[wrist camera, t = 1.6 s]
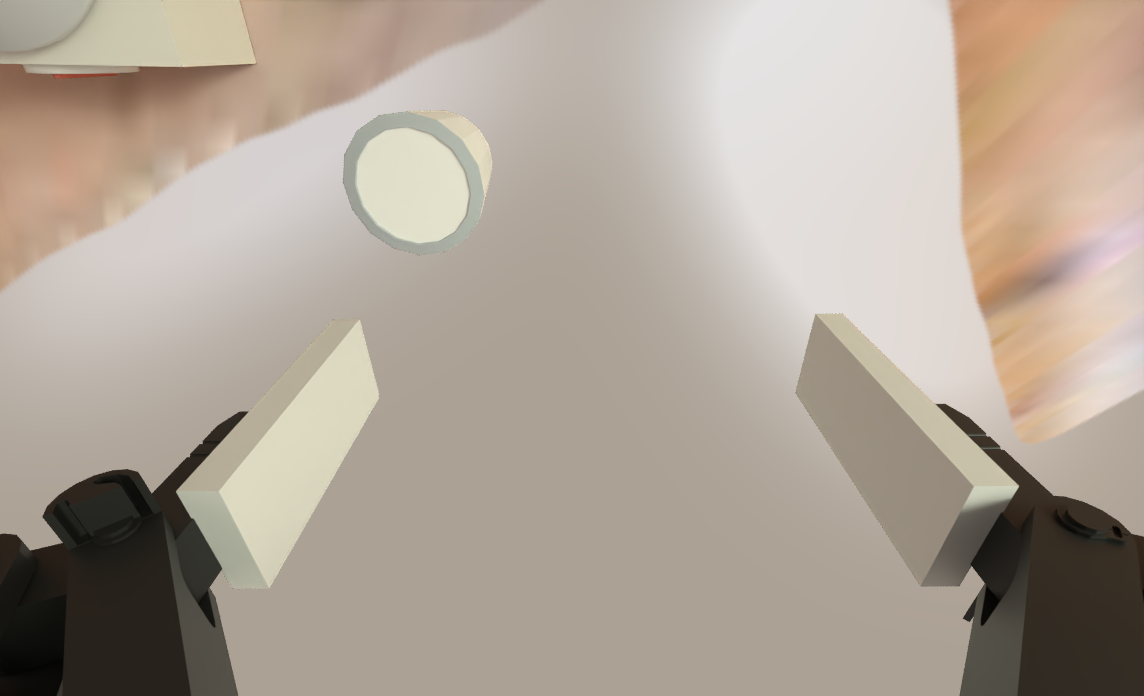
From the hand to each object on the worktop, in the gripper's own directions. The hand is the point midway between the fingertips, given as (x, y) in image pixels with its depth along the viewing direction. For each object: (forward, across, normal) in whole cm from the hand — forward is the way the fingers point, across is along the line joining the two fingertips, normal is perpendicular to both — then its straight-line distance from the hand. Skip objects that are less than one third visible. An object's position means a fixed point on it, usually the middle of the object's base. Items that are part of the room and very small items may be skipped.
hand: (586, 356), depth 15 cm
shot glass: (+19, -8, +2) cm, 21 cm away
